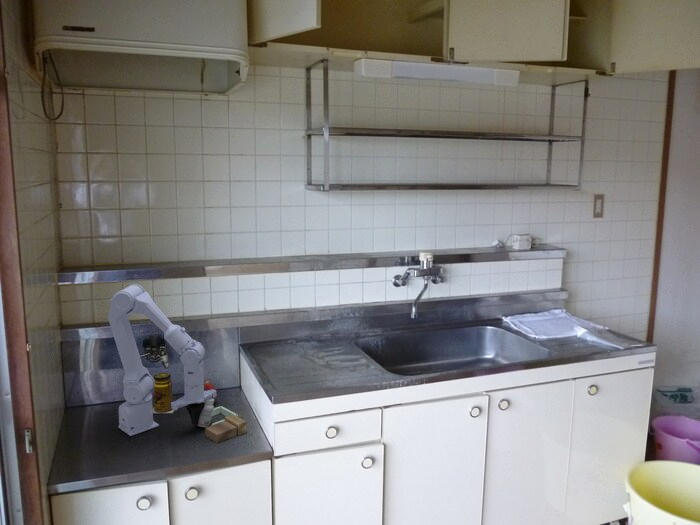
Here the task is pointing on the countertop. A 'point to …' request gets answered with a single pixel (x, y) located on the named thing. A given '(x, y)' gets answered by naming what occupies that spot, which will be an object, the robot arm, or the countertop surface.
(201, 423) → the pill bottle
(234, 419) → the block
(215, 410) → the corral
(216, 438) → the tan cardboard block
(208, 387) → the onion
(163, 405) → the condiment
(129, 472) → the countertop surface
